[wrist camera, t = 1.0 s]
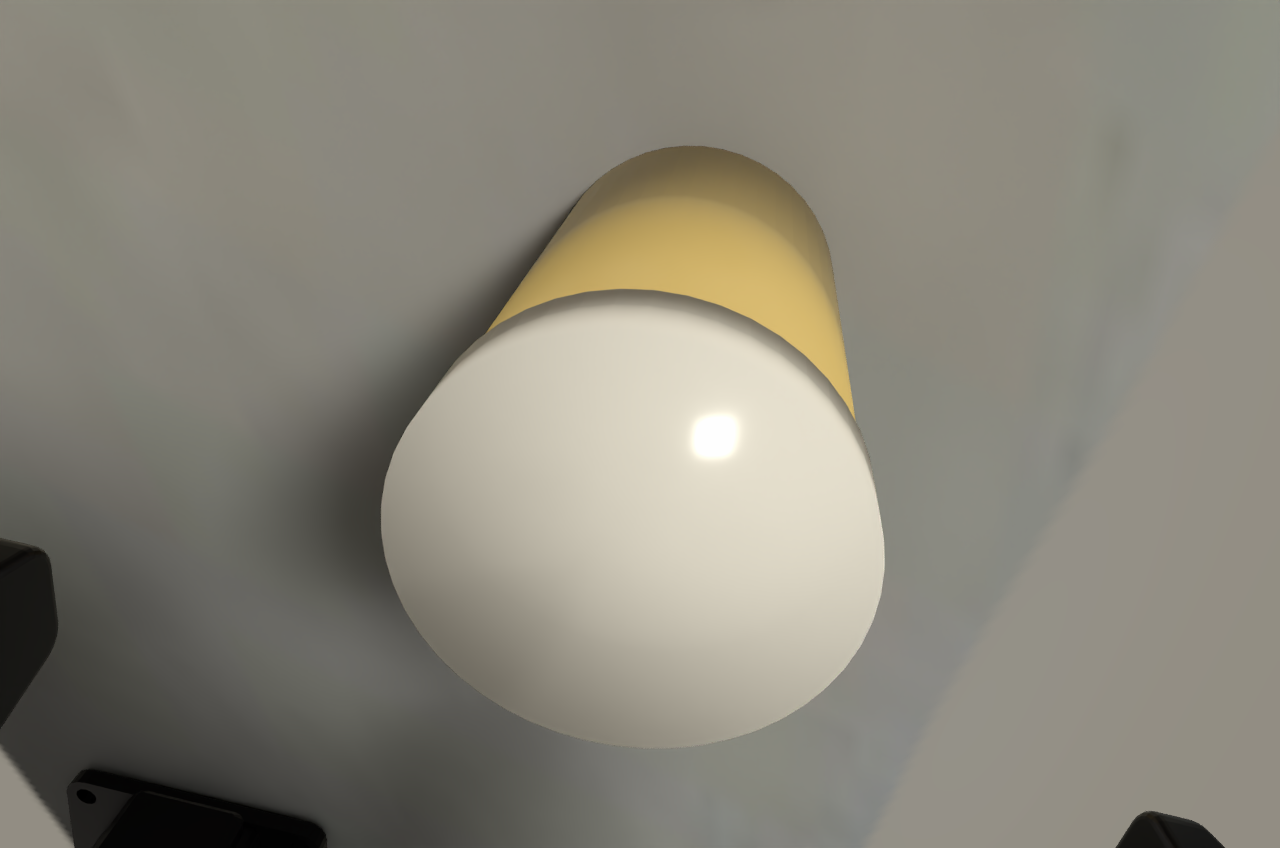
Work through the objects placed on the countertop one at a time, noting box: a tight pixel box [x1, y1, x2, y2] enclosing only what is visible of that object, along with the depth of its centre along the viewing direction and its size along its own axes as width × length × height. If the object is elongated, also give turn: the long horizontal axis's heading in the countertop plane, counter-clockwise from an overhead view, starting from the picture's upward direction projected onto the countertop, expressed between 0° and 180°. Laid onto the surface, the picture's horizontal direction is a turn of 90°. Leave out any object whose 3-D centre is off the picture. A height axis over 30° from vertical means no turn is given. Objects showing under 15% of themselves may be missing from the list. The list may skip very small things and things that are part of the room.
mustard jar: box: [381, 146, 885, 748], centre depth 13 cm, size 5×5×8 cm
